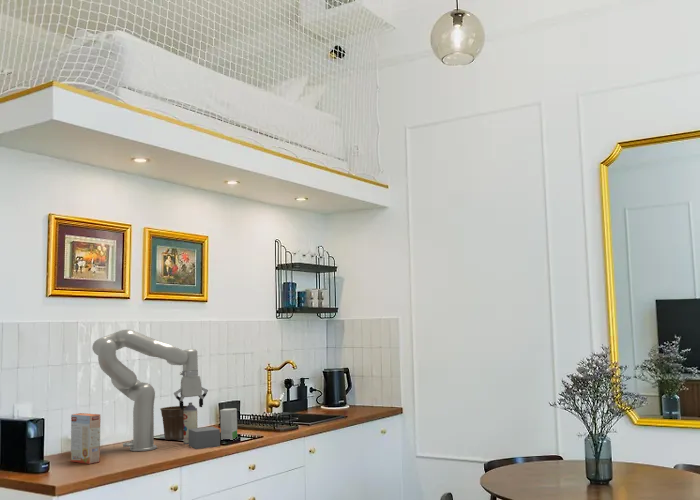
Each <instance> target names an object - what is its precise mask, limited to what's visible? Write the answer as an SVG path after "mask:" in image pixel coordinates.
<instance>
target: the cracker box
mask: <svg viewBox="0 0 700 500" xmlns="http://www.w3.org/2000/svg"><path fill="white" fill-rule="evenodd" d="M70 418H71V420H70V422H71V423H70V462H71V463H78V464H86V465H90V464H92V465H93V464H96V463H100V462H101V414H98V413H86V412H84V413H83V412H82V413H81V412H80V413H73V414H71V415H70Z"/></svg>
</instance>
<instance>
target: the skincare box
mask: <svg viewBox="0 0 700 500" xmlns="http://www.w3.org/2000/svg"><path fill="white" fill-rule="evenodd" d="M219 412H220V419H219V420H220V441H221V440H223V439H230V440H233V439H235V438H236V437H237V438H238V415H237V414H238V411H237V408H233V407H232V408H223V409H220V410H219ZM235 440H236V439H235ZM233 441H234V440H233Z"/></svg>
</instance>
